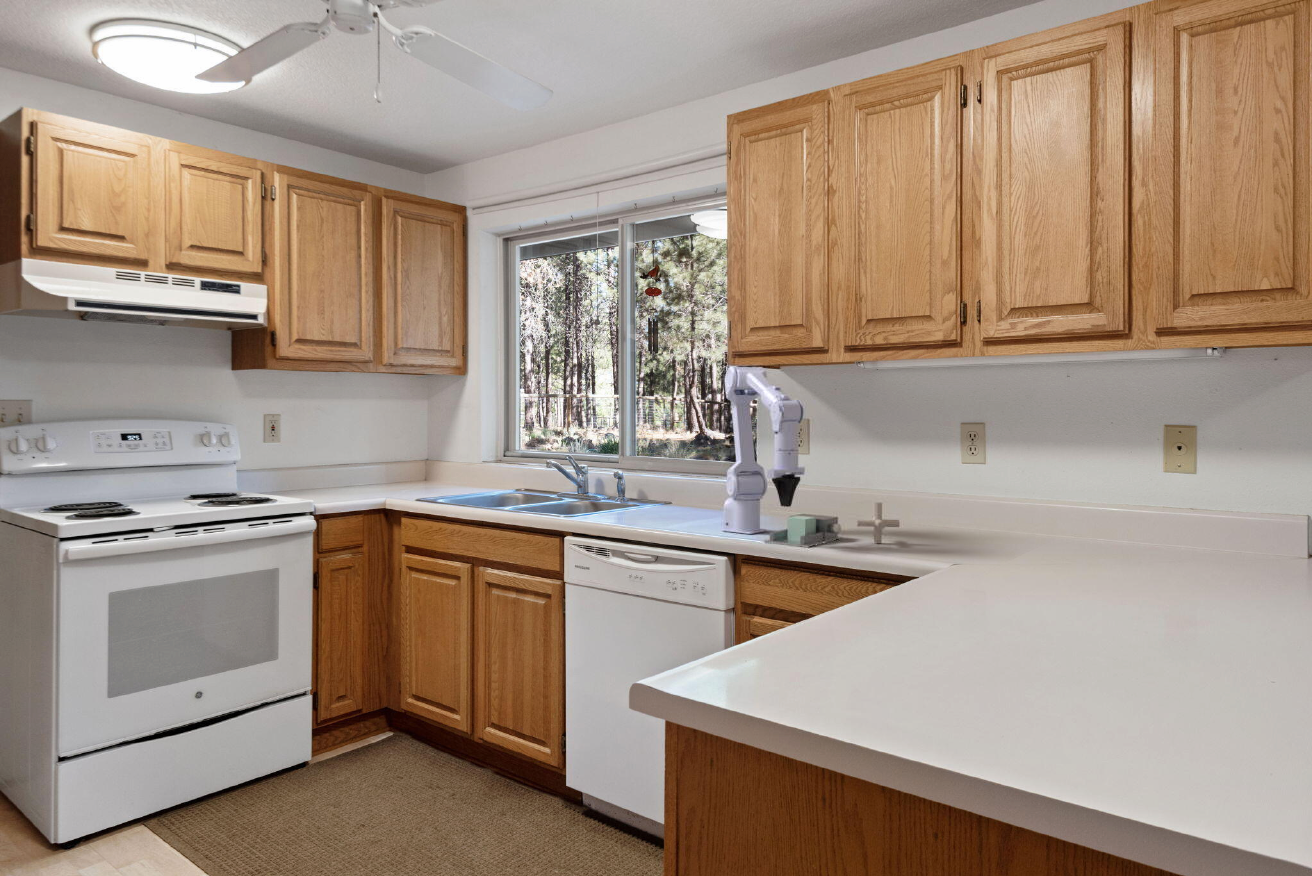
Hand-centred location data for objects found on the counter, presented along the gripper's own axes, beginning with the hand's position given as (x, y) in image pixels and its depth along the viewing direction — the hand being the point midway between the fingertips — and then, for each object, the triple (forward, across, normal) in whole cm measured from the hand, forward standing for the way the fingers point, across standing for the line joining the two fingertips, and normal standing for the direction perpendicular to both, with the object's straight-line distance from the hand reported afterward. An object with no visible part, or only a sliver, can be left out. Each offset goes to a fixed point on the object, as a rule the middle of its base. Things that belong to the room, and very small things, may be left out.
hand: (785, 506), depth 200 cm
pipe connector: (+10, +17, -16) cm, 25 cm away
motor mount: (+9, +9, 0) cm, 13 cm away
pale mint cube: (+9, +7, 0) cm, 11 cm away
